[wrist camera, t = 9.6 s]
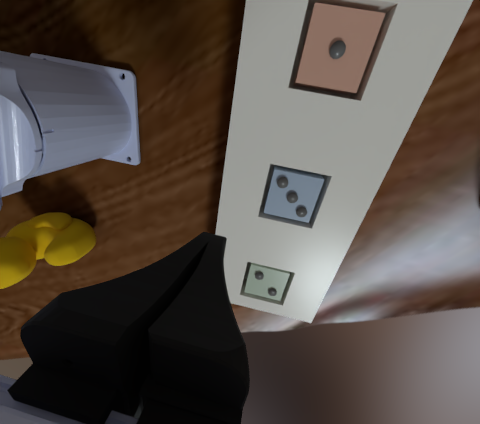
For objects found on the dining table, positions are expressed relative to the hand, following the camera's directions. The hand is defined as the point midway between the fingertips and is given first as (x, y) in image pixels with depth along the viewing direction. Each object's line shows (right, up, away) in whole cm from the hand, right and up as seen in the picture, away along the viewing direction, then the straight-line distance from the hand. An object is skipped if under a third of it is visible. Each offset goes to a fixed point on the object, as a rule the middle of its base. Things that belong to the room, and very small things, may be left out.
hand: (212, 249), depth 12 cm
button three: (+6, +4, +8) cm, 11 cm away
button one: (+8, +13, +3) cm, 16 cm away
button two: (+5, -4, +13) cm, 14 cm away
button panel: (+6, +5, +8) cm, 11 cm away
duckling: (-20, 0, +15) cm, 25 cm away
